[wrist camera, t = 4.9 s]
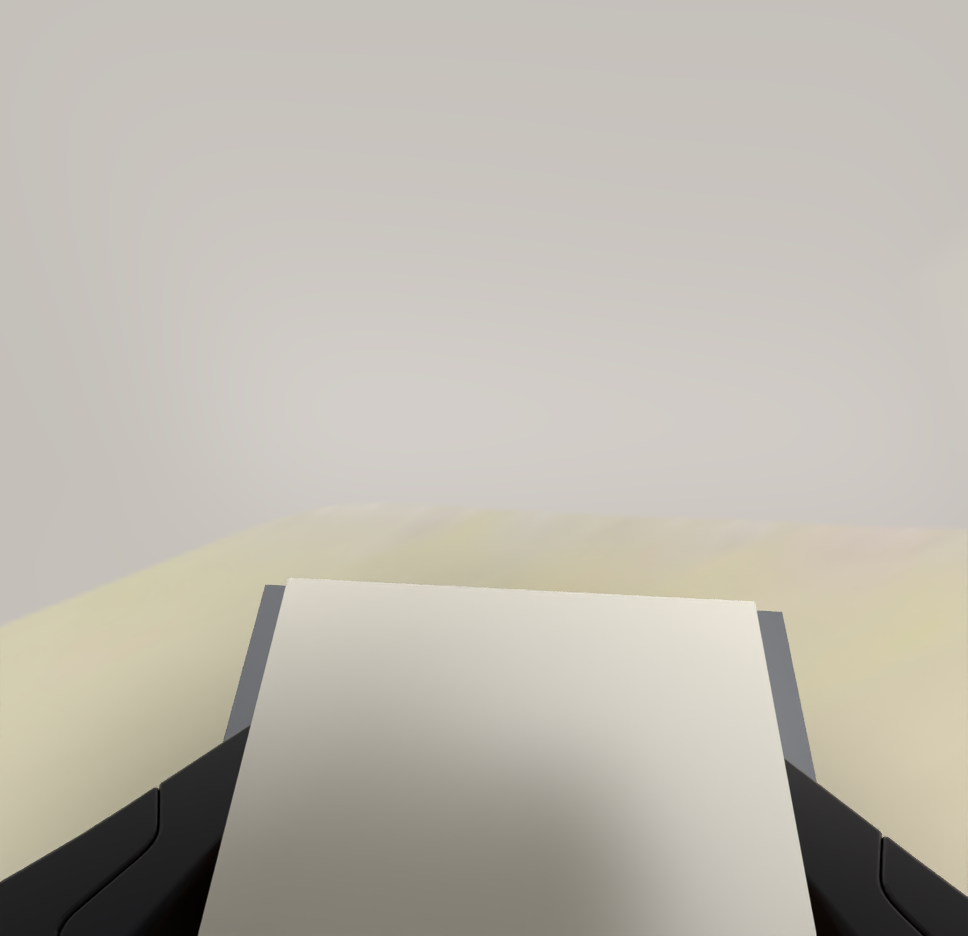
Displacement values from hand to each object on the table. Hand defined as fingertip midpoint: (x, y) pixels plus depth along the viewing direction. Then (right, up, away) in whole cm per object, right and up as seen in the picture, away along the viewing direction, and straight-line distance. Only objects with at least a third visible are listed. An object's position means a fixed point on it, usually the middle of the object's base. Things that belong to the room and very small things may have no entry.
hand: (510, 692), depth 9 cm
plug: (0, -4, +3) cm, 5 cm away
